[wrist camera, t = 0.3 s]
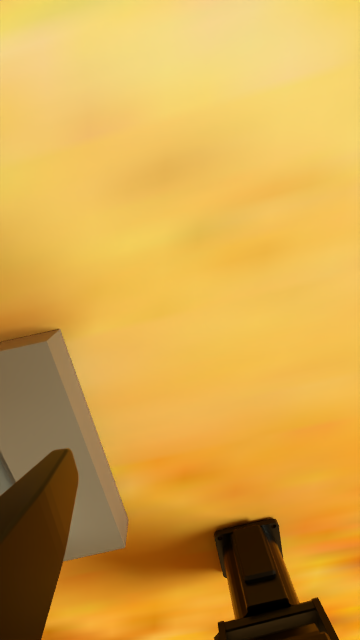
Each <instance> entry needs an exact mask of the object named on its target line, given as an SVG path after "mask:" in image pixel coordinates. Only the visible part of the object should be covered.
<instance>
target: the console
mask: <svg viewBox="0 0 360 640" xmlns="http://www.w3.org/2000/svg"><path fill="white" fill-rule="evenodd" d="M64 448H69V449H71V451H72V453H73V456H74V460H75V463H76V467H77V470H78V475H79V482H78V488H77V493H76V499H75V504H74V510H73V515H72V520H71V526H70V531H69V537H68V542H67V547H66V551H65V555H64V559H63V561H68V560H72V559H77V558H81V557H86V556H90V555H95V554H99V553H104V552H108V551H113V550H117V549H122V548H125V545H126V536H127V528H128V517H127V515H126V512H125V509H124V506H123V503H122V501H121V498H120V495H119V492H118V489H117V487H116V484H115V481H114V478H113V476H112V473H111V470H110V467H109V464H108V462H107V459H106V456H105V453H104V450H103V448H102V445H101V442H100V439H99V437H98V434H97V431H96V428H95V425H94V423H93V420H92V417H91V414H90V411H89V409H88V406H87V403H86V400H85V398H84V395H83V392H82V389H81V386H80V384H79V381H78V378H77V375H76V372H75V370H74V367H73V364H72V361H71V358H70V356H69V353H68V350H67V347H66V345H65V342H64V339H63V336H62V333H61V331H60V329H58V330H53V331H49V332H44V333H40V334H35V335H30V336H26V337H21V338H17V339H12V340H7V341H3V342H0V496H1V495H2V494H3V493H4V492H5V491H6V490H8V489H9V488H10V487H11V486H12V485H13V484H15V483H16V482H17V481H18V480H19V479H20V478H21V477H23V476H24V475H25V474H26V473H27V472H28V471H30V470H31V469H32V468H33V467H34V466H35V465H36V464H38V463H39V462H40V461H41V460H42V459H43V458H45V457H46V456H47V455H48V454H49V453H50V452H52V451H53V450H57V449H64Z"/></svg>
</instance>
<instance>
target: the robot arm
mask: <svg viewBox="0 0 360 640" xmlns="http://www.w3.org/2000/svg"><path fill="white" fill-rule="evenodd" d="M78 482H79V475H78V470H77V467H76V463H75V460H74V456H73V453H72V451H71V449H69V448H64V449H57V450H53V451H52V452H50V453H49V454H48V455H47V456H46V457H45V458H43V459H42V460H41V461H40V462H39V463H38V464H36V465H35V466H34V467H33V468H32V469H31V470H30V471H28V472H27V473H26V474H25V475H24V476H23V477H21V478H20V479H19V480H18V481H17V482H16V483H15V484H13V485H12V486H11V487H10V488H9V489H8V490H6V491H5V492H4V493H3V494H2V495H1V496H0V640H41V638H42V634H43V631H44V627H45V624H46V620H47V616H48V613H49V609H50V606H51V602H52V599H53V595H54V592H55V588H56V585H57V581H58V578H59V574H60V570H61V567H62V563H63V559H64V555H65V551H66V547H67V542H68V537H69V531H70V526H71V520H72V515H73V510H74V504H75V499H76V493H77V488H78ZM214 537H215V542H216V546H217V551H218V555H219V559H220V563H221V568H222V572H223V576H224V577H225V578H227V580H228V585H229V590H230V595H231V600H232V606H233V611H234V616H235V620H232V621H228V622H224V621H221V622H218V629H219V633H218V634H217V635H216V636H215V637H214V640H339V639H338V637H337V635H336V633H335V631H334V629H333V627H332V625H331V623H330V621H329V619H328V617H327V615H326V613H325V611H324V609H323V607H322V605H321V603H320V601H319V599H318V597H317V598H313V599H312V600H311V601H307V602H303V603H299V600H298V597H297V595H296V592H295V590H294V587H293V584H292V582H291V579H290V576H289V574H288V571H287V568H286V566H285V563H284V561H283V555H282V547H281V540H280V532H279V525H278V523H277V520H276V519H269V520H264V521H260V522H255V523H251V524H246V525H242V526H237V527H233V528H228V529H224V530H219V531H216V532H215V533H214Z"/></svg>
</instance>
